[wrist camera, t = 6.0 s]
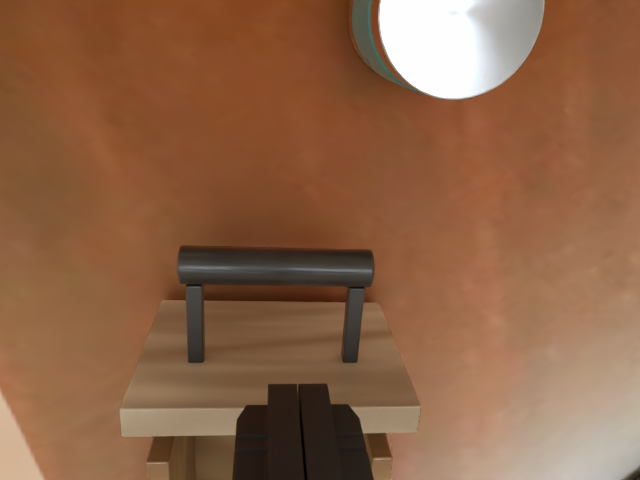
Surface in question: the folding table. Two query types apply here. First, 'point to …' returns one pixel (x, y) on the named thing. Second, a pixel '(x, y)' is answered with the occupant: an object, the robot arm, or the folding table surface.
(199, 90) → the folding table surface
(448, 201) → the folding table surface
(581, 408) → the folding table surface
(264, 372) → the drawer
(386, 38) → the tin can
